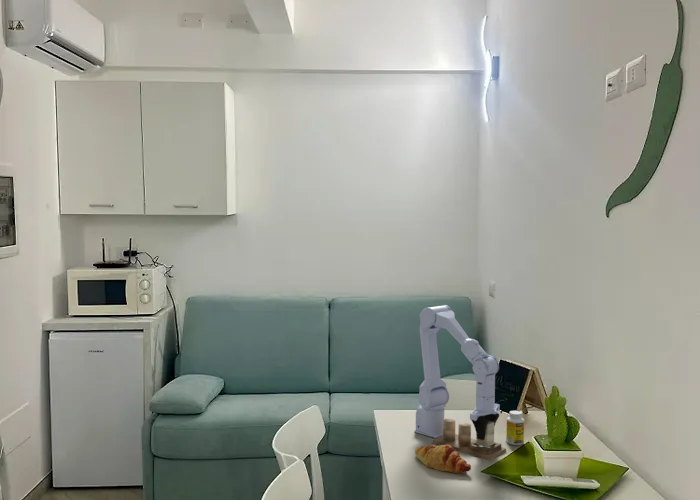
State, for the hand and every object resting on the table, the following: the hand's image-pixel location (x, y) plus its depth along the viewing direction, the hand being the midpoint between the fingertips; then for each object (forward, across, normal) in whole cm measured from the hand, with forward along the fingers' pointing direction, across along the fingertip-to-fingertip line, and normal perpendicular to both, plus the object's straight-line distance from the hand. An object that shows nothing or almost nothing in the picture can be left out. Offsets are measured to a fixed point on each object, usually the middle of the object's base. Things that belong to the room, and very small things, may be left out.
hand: (484, 437), depth 207 cm
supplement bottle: (+5, +14, -3) cm, 15 cm away
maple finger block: (+2, 0, 0) cm, 2 cm away
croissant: (+5, -18, +4) cm, 19 cm away
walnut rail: (+5, 0, +6) cm, 8 cm away
